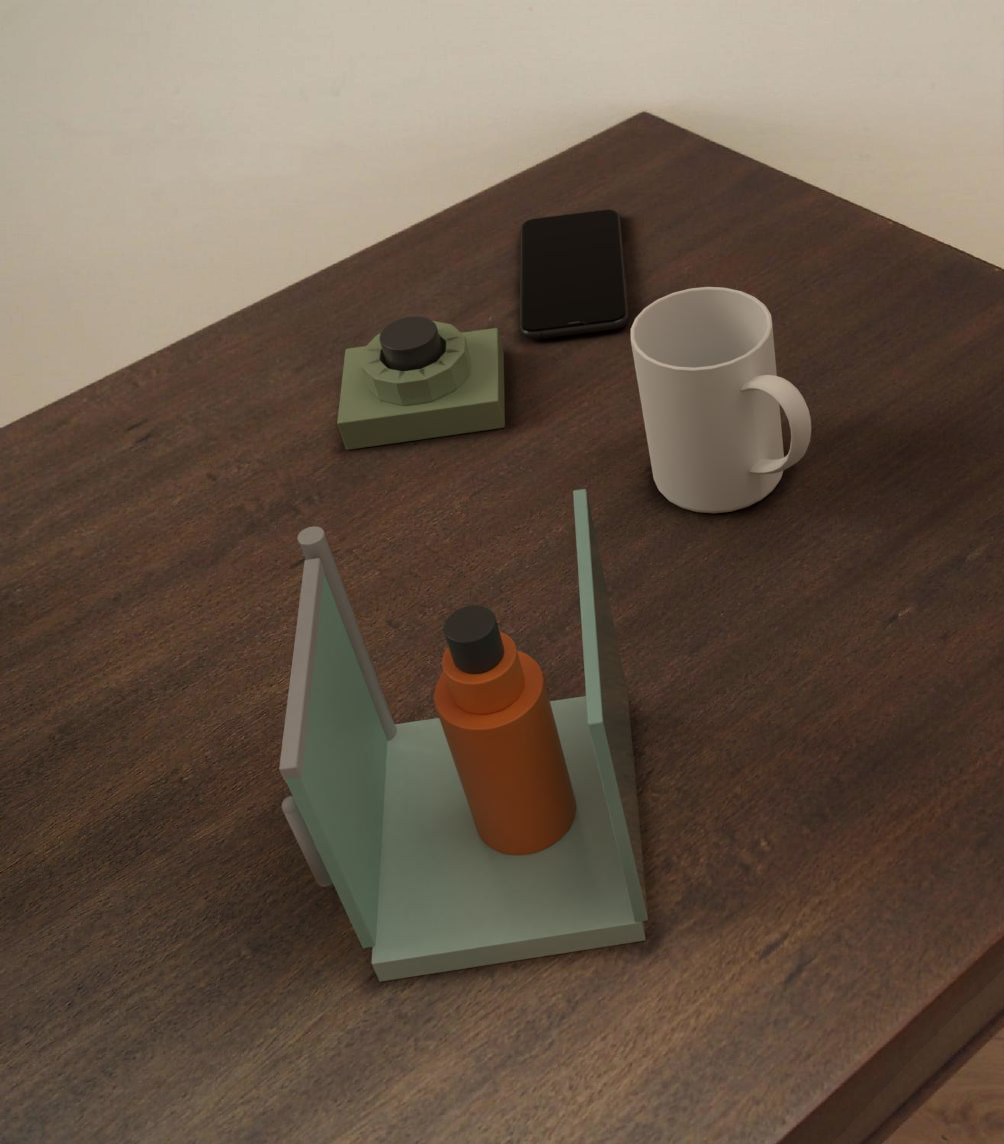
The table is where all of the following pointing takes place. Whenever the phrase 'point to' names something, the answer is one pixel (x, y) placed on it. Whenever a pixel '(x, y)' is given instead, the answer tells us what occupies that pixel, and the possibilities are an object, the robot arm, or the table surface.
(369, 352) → the control block
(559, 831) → the shampoo bottle
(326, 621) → the shower door
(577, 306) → the smartphone
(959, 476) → the table surface
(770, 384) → the mug
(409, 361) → the button
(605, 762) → the shower
